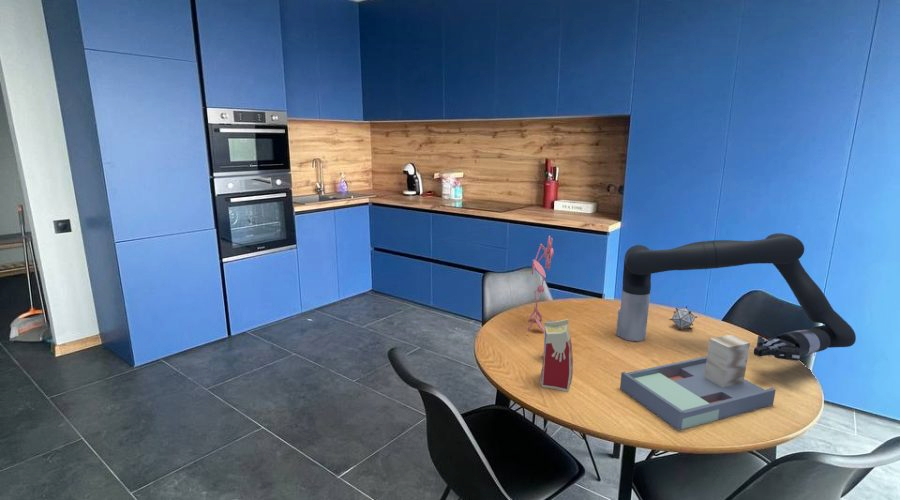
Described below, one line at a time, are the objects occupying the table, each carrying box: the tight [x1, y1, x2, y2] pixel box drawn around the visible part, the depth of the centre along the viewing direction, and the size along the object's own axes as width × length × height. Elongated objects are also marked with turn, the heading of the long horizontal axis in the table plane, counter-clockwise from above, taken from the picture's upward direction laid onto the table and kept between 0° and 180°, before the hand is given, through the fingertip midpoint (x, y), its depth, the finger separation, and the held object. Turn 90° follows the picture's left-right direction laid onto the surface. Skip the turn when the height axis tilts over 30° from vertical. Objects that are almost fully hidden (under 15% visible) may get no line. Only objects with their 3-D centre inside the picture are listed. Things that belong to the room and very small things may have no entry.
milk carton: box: [539, 318, 574, 393], centre depth 134 cm, size 9×9×20 cm
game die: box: [668, 305, 698, 331], centre depth 174 cm, size 9×8×10 cm
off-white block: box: [704, 334, 751, 388], centre depth 130 cm, size 8×6×12 cm
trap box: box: [619, 355, 777, 431], centre depth 128 cm, size 33×21×5 cm, turn 110°
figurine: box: [525, 235, 562, 337], centre depth 172 cm, size 15×26×35 cm, turn 170°
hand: (756, 352), depth 134 cm, fingers closed
